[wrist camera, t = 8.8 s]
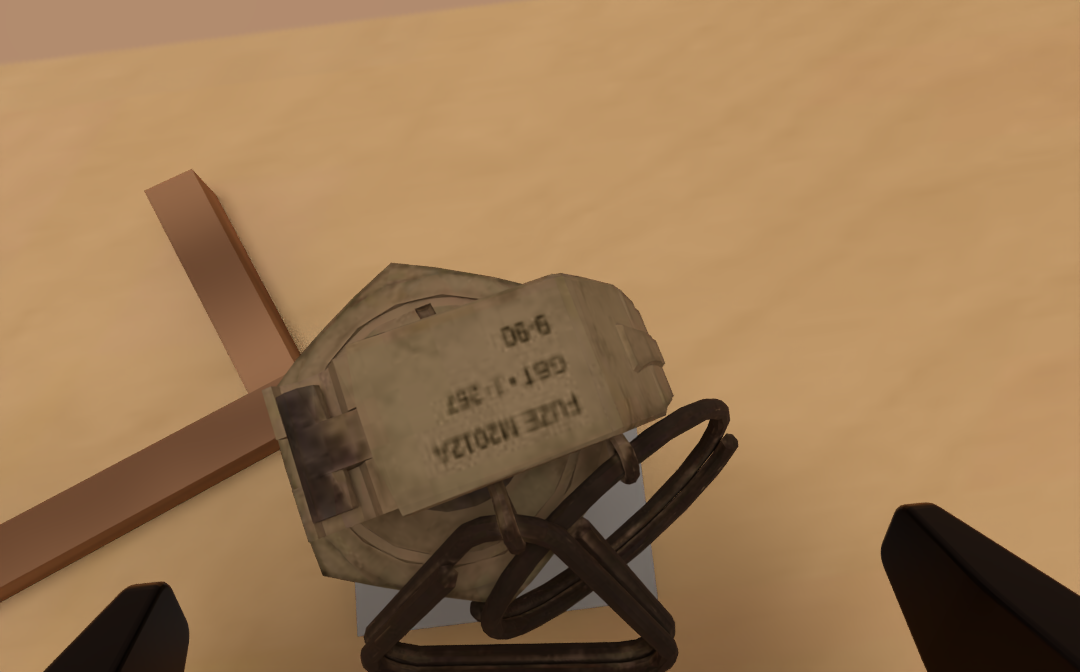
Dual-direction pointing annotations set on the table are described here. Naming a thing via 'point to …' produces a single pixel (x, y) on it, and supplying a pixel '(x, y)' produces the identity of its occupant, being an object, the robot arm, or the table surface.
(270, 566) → the table surface
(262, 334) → the brown flat open frame
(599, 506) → the felt mat
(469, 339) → the grenade model
